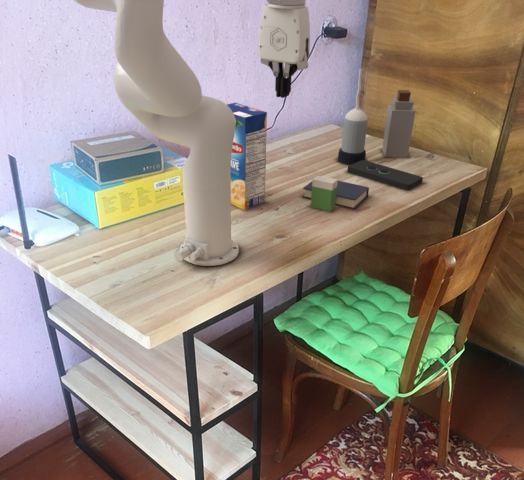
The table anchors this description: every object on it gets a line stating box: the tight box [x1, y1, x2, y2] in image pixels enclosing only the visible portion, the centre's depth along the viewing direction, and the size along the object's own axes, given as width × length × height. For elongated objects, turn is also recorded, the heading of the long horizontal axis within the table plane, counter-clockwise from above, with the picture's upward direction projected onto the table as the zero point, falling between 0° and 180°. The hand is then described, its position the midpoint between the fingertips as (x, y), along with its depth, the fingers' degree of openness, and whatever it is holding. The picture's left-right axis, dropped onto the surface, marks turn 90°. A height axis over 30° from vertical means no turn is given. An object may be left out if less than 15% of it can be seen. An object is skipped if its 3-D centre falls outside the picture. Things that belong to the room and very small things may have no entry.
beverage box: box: [226, 102, 268, 211], centre depth 142 cm, size 7×11×22 cm, turn 44°
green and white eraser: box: [310, 175, 339, 212], centre depth 144 cm, size 7×5×3 cm
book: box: [302, 180, 370, 210], centre depth 151 cm, size 9×14×3 cm, turn 61°
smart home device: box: [347, 159, 424, 191], centre depth 163 cm, size 8×2×20 cm
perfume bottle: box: [381, 89, 416, 159], centre depth 175 cm, size 7×7×18 cm
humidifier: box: [337, 68, 369, 166], centre depth 167 cm, size 8×8×25 cm
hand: (282, 95), depth 127 cm, fingers closed
